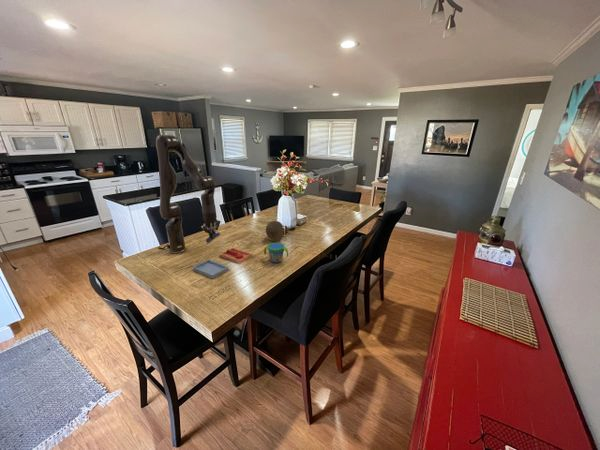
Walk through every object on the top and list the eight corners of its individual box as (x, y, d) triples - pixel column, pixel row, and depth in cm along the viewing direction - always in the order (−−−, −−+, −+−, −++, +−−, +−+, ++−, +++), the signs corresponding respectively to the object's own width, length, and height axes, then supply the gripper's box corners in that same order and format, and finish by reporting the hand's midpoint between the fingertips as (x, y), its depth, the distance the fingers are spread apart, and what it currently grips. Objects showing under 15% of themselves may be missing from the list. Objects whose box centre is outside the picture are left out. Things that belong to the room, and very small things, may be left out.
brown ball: (288, 240, 182) (288, 221, 177) (274, 245, 172) (273, 226, 167) (276, 235, 191) (275, 217, 186) (262, 240, 181) (261, 221, 176)
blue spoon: (221, 233, 144) (219, 229, 144) (215, 236, 140) (213, 232, 140) (211, 241, 152) (209, 238, 152) (205, 244, 148) (203, 240, 148)
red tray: (220, 256, 156) (219, 253, 155) (233, 250, 165) (232, 247, 164) (239, 263, 147) (239, 260, 147) (251, 256, 156) (251, 253, 156)
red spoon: (244, 256, 155) (244, 253, 154) (239, 259, 151) (239, 255, 150) (230, 251, 162) (230, 248, 161) (224, 254, 158) (224, 250, 157)
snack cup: (291, 258, 154) (290, 244, 150) (284, 266, 144) (283, 251, 141) (269, 254, 159) (268, 240, 155) (261, 261, 150) (260, 247, 146)
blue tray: (193, 270, 140) (192, 267, 139) (209, 262, 149) (208, 259, 148) (212, 278, 131) (212, 275, 131) (228, 269, 140) (228, 266, 140)
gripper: (214, 207, 148) (217, 233, 154) (195, 212, 137) (199, 240, 143) (222, 209, 144) (225, 235, 150) (203, 214, 133) (207, 243, 139)
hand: (212, 237), depth 146 cm, fingers closed on blue spoon, 1 cm apart
